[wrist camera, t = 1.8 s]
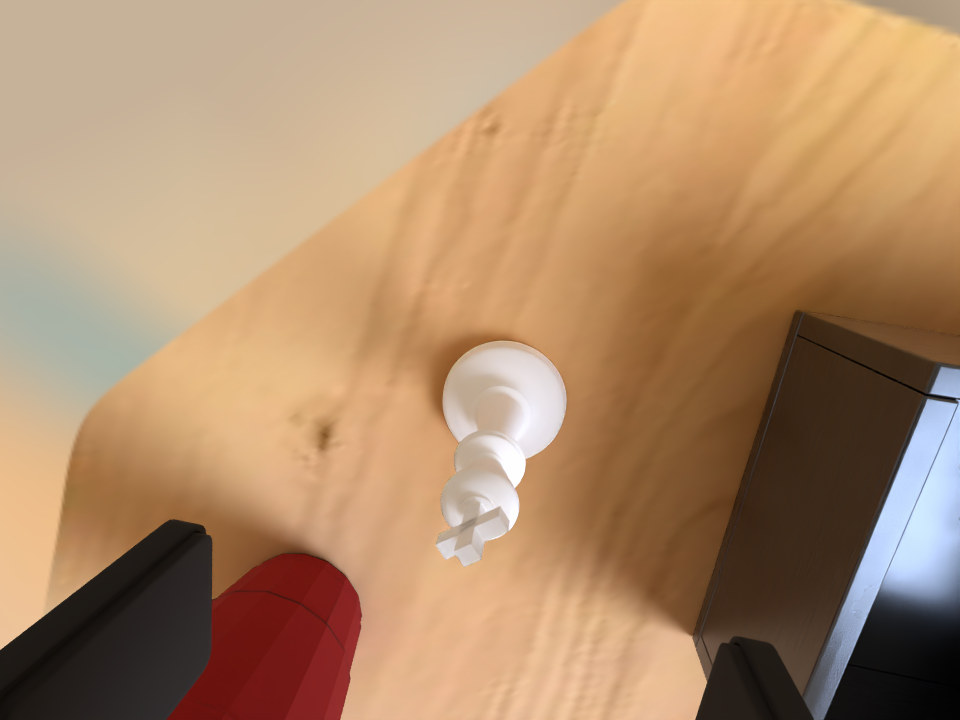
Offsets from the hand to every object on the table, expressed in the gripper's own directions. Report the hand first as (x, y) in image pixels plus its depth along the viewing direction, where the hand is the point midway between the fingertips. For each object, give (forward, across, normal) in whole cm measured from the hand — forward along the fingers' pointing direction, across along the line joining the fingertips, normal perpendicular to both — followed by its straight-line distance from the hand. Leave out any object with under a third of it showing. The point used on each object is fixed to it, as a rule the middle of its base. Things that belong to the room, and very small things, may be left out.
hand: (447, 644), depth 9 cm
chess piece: (+12, 0, -1) cm, 12 cm away
